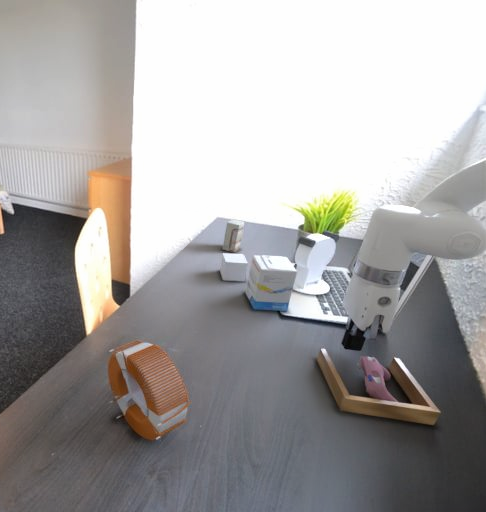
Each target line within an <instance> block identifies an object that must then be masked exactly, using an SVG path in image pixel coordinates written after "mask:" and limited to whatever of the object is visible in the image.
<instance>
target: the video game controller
mask: <svg viewBox="0 0 486 512" xmlns="http://www.w3.org/2000/svg"><path fill="white" fill-rule="evenodd" d="M356 365H357V368H358V369H359V370H362V371H363V373H364V385H365V388H366V389H365V391H366V393H367V394H368V395H369V397H370V398H373V399H379V400H386V401H393V402H399V401H398V400H397V399H396V398H394V396H392V394H391V393H390V391H388V389H387V387H386V382H385V381H389V380H390V379H391V372H390V371H389V370H388V369H387V368H385V367H384V366H383V365H382V364H381V363H380V362H379V361H378V359H377V358H376V357H375V356H367V355H365V356H364V355H363V356H359V362H357V363H356Z"/></svg>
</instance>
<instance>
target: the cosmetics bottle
mask: <svg viewBox="0 0 486 512" xmlns="http://www.w3.org/2000/svg"><path fill="white" fill-rule="evenodd" d="M245 223H246V221H244V220H240V219H235V218H232V219H230V220H228V221H227V222H226V227H225V232H224V238H223V244H222V250H224V251H226V252H231V253H232V254H235V253H236V252H238V251H239V250H240V247H241V244H242V239H243V233H244V230H245V229H244V228H245Z"/></svg>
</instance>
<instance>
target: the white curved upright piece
mask: <svg viewBox="0 0 486 512" xmlns="http://www.w3.org/2000/svg"><path fill="white" fill-rule="evenodd" d="M339 240H340V235H339V234H338V233H335V232H333V231H332V232H331V231H328V230H325V229H324V230H323V231H322V233H321V234H320V233H311V234H308V235H307V236H304V235H301V236H300V237H299V238H298V241H297V242H298V244H299V245H298V246H297V248H296V251H295V254H294V262H295V264H294V265H293V267H294V268H295V269H296V271H297V274H296V278H295V282H294V286H293V290H292V291H295V292H298V293H301V294H306V295H312V296H320V295H325V294H327V293H329V292H330V285H329V283H327V282H326V281H324V280H323V279H322V276H323V274H324V271H325V268H326V266H327V265H328V264H329V263H330V262H331V260H332V259H333V257H334V256H335V253H336V247H337V246H336V243H338V242H339Z"/></svg>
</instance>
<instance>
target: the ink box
mask: <svg viewBox="0 0 486 512" xmlns="http://www.w3.org/2000/svg"><path fill="white" fill-rule="evenodd" d="M296 274H297V271H296V269H295V268H294V265H293V264H292V262H291V261H290V260H289V258H288V257H287V256H280V255H265V254H263V255H259V254H258V255H255V254H254V255H252V258H251V262H250V267H249V273H248V278H247V283H246V288H245V295H246V297H247V298H248V301H249V302H250V304H251V307H252V309H253V310H261V311H262V310H263V311H275V312H288V309H289V305H290V302H291V297H292V294H293V291H294V290H293V286H294V282H295V278H296Z"/></svg>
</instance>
